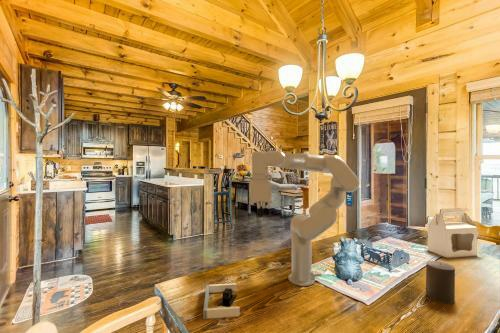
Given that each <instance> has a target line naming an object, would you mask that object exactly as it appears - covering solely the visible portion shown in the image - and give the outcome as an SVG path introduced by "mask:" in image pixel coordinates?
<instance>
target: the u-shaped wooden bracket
mask: <svg viewBox="0 0 500 333" xmlns="http://www.w3.org/2000/svg"><path fill="white" fill-rule="evenodd" d="M226 288H229V289H232V292H237V283H236V282H234V283H218V284H217V283H216V284H206V286H205V294H204V303H203V314H202V315H203V318H202V319H203V320H205V319H208V320H209V319H220V318H222V319H223V318H233V317H234V318H235V317H240V314H241V312H240V309H241V308H240V306H239V305H238V306H231V307H223V306H221V307H211V308H210V307H209V297H210V294H213V293H214V294H215V293H223V291H224V290H225V289H226Z"/></svg>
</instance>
